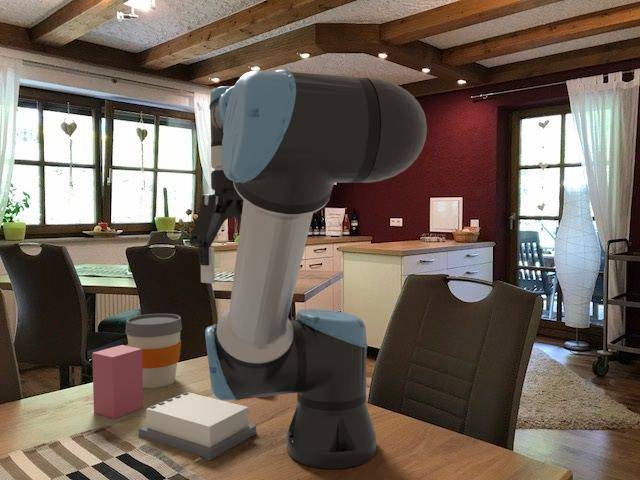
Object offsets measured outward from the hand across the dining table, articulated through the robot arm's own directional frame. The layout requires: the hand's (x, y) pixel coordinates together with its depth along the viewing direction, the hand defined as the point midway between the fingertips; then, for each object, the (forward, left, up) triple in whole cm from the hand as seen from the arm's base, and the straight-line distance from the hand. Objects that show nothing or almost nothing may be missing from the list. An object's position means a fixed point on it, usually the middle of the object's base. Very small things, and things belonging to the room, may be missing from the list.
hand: (231, 278), depth 106 cm
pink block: (+19, +12, -26) cm, 35 cm away
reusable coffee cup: (+27, -4, -27) cm, 38 cm away
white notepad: (-2, +12, -27) cm, 29 cm away
